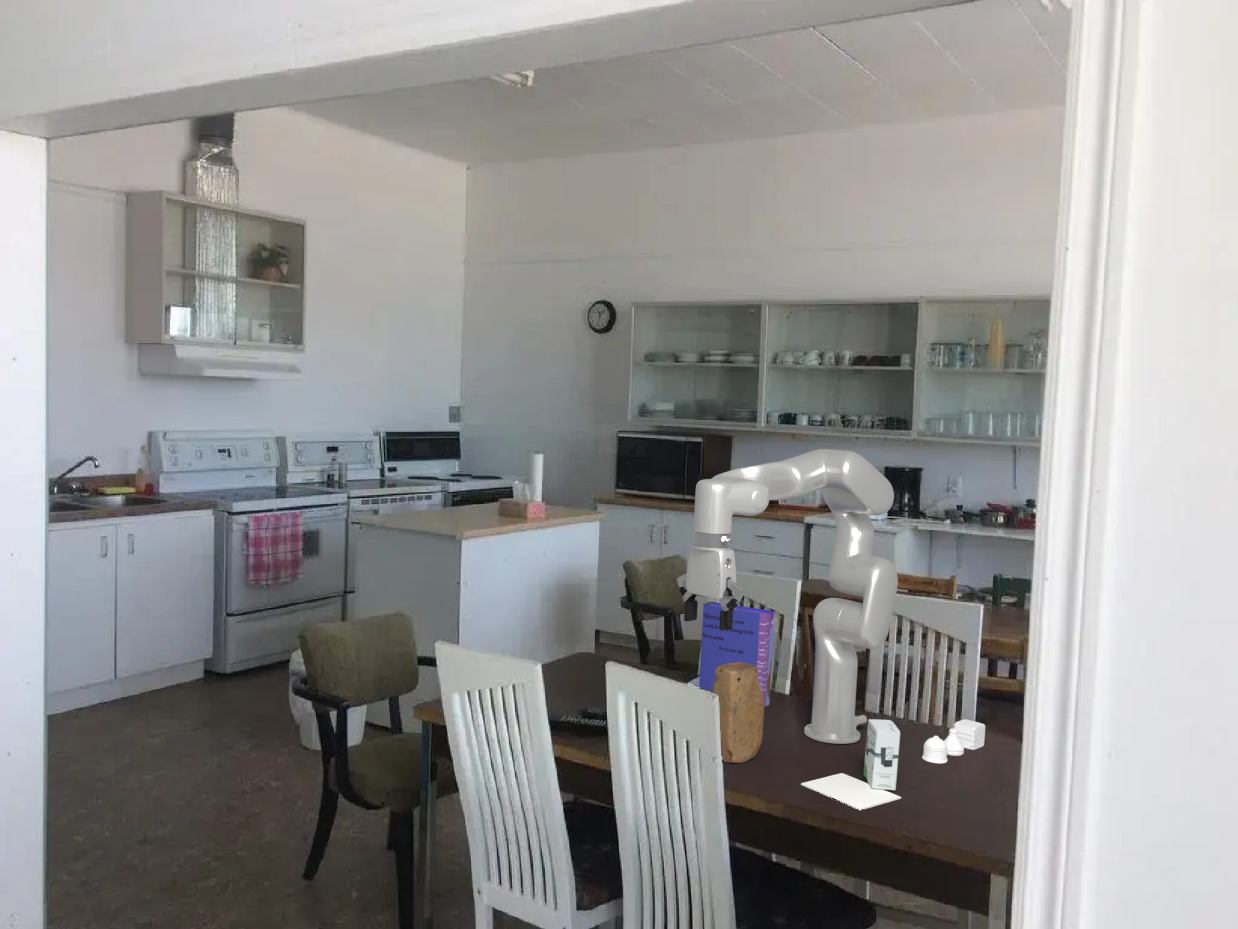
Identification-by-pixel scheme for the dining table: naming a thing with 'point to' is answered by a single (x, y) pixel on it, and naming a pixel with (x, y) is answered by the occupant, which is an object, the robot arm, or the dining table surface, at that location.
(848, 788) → the mat
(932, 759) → the container set
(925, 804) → the dining table surface
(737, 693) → the block
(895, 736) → the ink box
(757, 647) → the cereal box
